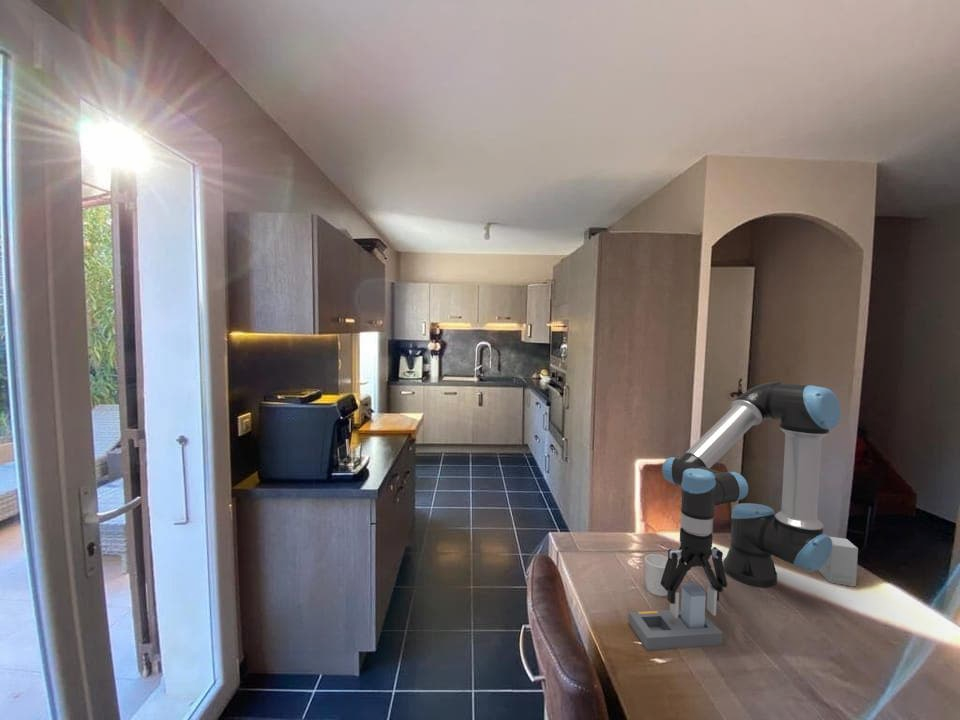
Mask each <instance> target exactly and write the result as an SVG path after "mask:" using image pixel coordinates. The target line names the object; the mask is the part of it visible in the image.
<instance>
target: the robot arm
mask: <svg viewBox="0 0 960 720" xmlns="http://www.w3.org/2000/svg"><path fill="white" fill-rule="evenodd" d="M840 418H841V405H840V401H839V398H838V396H836V395H835V393H834V391H832V390H831V389H829V388H827V387H823V386H817V385H811V384H800V383H799V384H795V383H785V382H779V381H778V382H776V381H774V382H773V381H772V382H764V383H761V384H760V385H755V387H752V388H749V389H748V390H746V391H745V392H743V393H742V394H740V395H739V396H738V397H736V398H735V399H734V401H732V402H731V405H730V409H729V410H728V411H727V412H726V413H725V414H724V415H723V416H722V417H721V418H720V419H718V421H717V422H716V423H715V424H714V425H713V426H712V427H710V429H708V430H707V432H705V433H704V434H703V435H702V436H701V437H700V438H699V439H698V440H697V441H696V442H695V443H694V444H693V445H692V446H691V447H690V448H689V449H688V450H686V452H685V453H684V454H683V455H681V457H680V458H679V457H673V456H672V457H668V458H666V459H665V460H664V462H663V464H662V466H661V472H662V473H661V474H662V476H663V478H664V479H665V480H666V481H667V482H670V483H671V484H673V485H675V486H677V487H678V486H679V487H681V507H680V528H679V543H680V546H679V548H678V549H676V550H673V549H672V548H669V549H668V550H667V558H668V560H667V563H666V566H665V570H664V573H663V576H662V580H661V585H662V586H663V587H664V588H665V590H667V591H668V595H667V597H666V598H667V600H668V602H669V610H670V612H671V613H672V614H673V615H674V617H675V618H678V609H680V608H679V606H680V604H679V603H680V593H679V591H677V590H678V589H679V587H680V585H682V583H683V580H684V578H685V577H686V575H687V573H688V572H690V571H691V569H692V568H696V567H700V568H701V567H702V570H703V571H704V573H705V575H706V577H707V579H708V581H709V583H710V584H708V585H707V593H706V594H707V595H706V596H707V597H706V609H707V611H708V612H710V614H712V616H717V602H719V600H720V593H722V592H723V591H724V588H725V589H726V588H727V587H728V582H727V576H726V574H727V575H728V576H729V577H731V578H732V579H734V580H736V581H739V582H741V583H743V584H746V585H750V586H754V587H758V588H759V587H761V588H769V587H775V585H777V583H778V572H777V569H776V566H775V562H774V560H773V556H774V557H776V558H778V559H781V560H782V561H785V563H789V564H791V565H793V566H794V567H795V568H796V567H797V568H801V569H803V570H804V571H808V572H816V571H819V570H820V568H822V567H823V566H824V565H825V563H826V562H827V561H828V559H829V557H830V554H831V551H832V541H831V538H830V537H831V536H829V535H828V534H826V533H824V524H823V522H821V521H820V519H818V510H819V509H818V507H819V493H820V492H819V491H820V473H821V458H822V457H821V456H822V439H824V437H826V436H828V435H829V434H830V430H831V429H834V428H836V426H838V424H839V421H840V420H841V419H840ZM771 419H772V420H775V421H776V420H777V421H779V429H780V430H781V431H782V432H783V433H784V435H785V439H784V456H783V458H784V460H783V472H782V473H783V475H782V493H781V510H780V511H778V512H777V513H776V512H775V510H774V508H772V507H771V506H768V505H764V504H760V503H754V502H753V503H749V502H745V503H742V502H741V503H738V504H735V505H734V506H733V507H732V511H731V517H730V518H731V521H730V522H731V523H730V525H731V526H730V544H729V545H730V546H729V549H728V551H727V554H726V556H725V557H724V559H723V555H724V553H723V551H721V550H720V549H719V548H718V547H716V546H713V538H714V537H713V532H714V513H715V512H714V511H715V510H714V508H715V507H716V506H719V505H724V504H731V503H737V502H738V501H742V500H744V499H745V498H746V497H747V496H748V493H749V484H748V482H747V480H746V478H745V477H744V476H743V475H741V474H740V473H737V472H735V471H725V472H721V471H718V470H714V469H711V468H712V467H713V465H715V464H716V463H717V462H718V461H719V460H720V459H721V458H722V457H723V456H724V455H725V454H726V453H727V452H728V451H729V450H730V449H731V448H732V446H734V445H735V443H737V442H738V441H739V439H741V438H742V437H743V436H744V435H745V434H746V433H747V432H748V430H750V429H751V428H752V427H753V426H758V425H760V424H761V423H762V422H763V421H764V420H771ZM710 558H711V560H712V564H713V568H714V571H713V569H712V565H711V563H710V562H709V559H710Z"/></svg>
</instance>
